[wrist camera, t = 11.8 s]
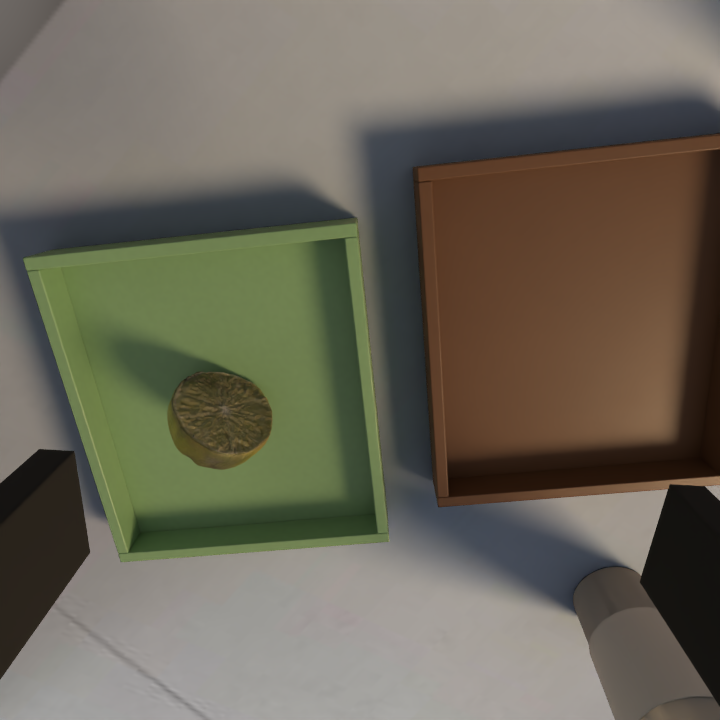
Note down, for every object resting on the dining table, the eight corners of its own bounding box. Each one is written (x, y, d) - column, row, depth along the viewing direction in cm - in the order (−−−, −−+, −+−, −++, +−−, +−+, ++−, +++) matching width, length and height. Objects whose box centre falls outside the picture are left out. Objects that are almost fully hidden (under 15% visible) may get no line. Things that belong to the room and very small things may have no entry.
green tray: (51, 249, 26) (21, 257, 24) (357, 217, 25) (356, 222, 23) (137, 534, 32) (120, 562, 30) (387, 514, 31) (389, 542, 29)
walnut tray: (412, 166, 25) (417, 167, 22) (749, 129, 24) (788, 126, 22) (433, 482, 31) (438, 507, 28) (703, 460, 30) (730, 484, 28)
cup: (686, 602, 33) (848, 825, 22) (596, 653, 35) (704, 886, 24) (625, 532, 32) (767, 736, 20) (533, 590, 33) (618, 808, 22)
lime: (179, 364, 28) (141, 406, 23) (271, 357, 27) (251, 398, 23) (196, 440, 29) (163, 493, 24) (283, 434, 29) (266, 486, 24)
